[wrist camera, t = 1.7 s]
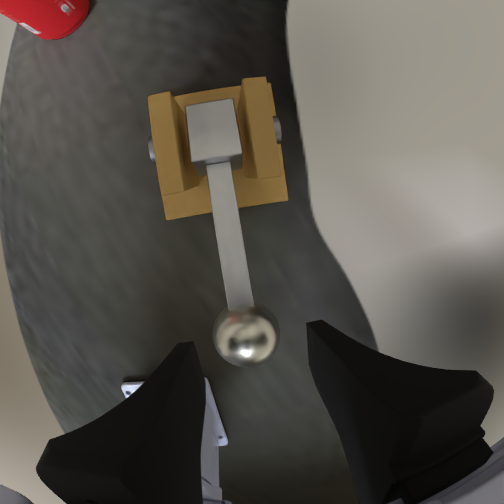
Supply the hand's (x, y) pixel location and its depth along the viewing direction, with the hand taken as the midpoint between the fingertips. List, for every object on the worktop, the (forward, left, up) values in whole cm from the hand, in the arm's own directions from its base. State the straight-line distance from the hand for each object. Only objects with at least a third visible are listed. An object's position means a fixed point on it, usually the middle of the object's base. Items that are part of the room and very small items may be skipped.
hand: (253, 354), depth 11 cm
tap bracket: (+8, 0, -10) cm, 13 cm away
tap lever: (+4, 0, -5) cm, 6 cm away
